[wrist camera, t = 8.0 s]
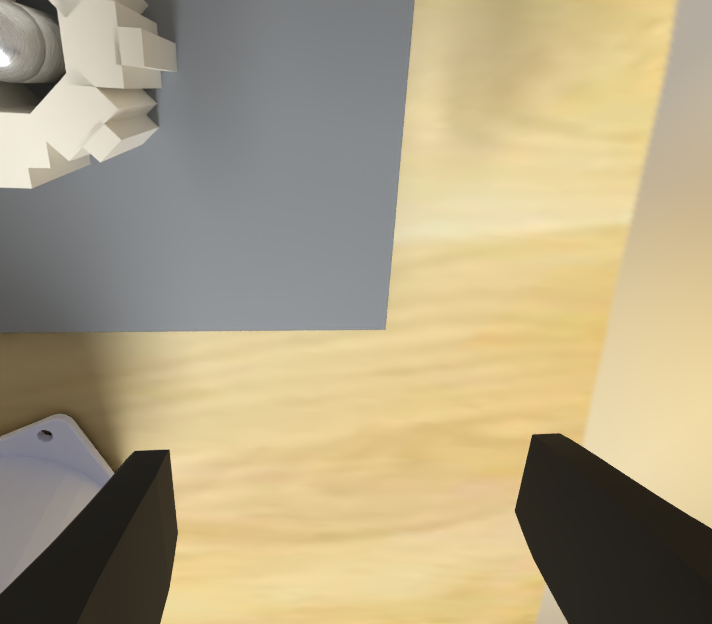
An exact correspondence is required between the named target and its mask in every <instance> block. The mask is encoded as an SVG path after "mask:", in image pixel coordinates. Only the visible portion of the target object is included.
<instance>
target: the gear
mask: <svg viewBox="0 0 712 624" xmlns="http://www.w3.org/2000/svg"><path fill="white" fill-rule="evenodd" d="M9 1H12V2H15V1H16V0H9ZM49 1H50V2H51V3H52V4H53V5H54V6H55V7H56V8H57V13H58V20H59V27H60V34H61V41H62V48H63V55H64V62H65V69H66V74H65V75H64V76H63V78H62V79H61V80H60V81H59V82H58V83H57V84H56V85H55V87H54V88H53V89H52V90H51V91H50V92H49V93H48V94H47V96H46V97H45V98H44V99H43V100H41V99H40V98H39V97H38V96H37V95H36V94H35V93H34V92H32V91H31V90H30V89H29V88H28V87H27V86H26V85H25V84H24V83H10V82H4V81H0V188H29V189H32V188H35V187H37V186H39V185H42V184H44V183H47V182H49V181H51V180H54V179H56V178H59V177H61V176H63V175H66V174H68V173H71V172H73V171H75V170H78V169H80V168H83V167H85V166H88V165H90V164H91V161H90V154H91V155H92V156H93V157H95V158H96V159H97V160H98V161H99V162H103V161H105V160H107V159H110V158H112V157H114V156H117V155H119V154H121V153H124V152H126V151H128V150H131V149H133V148H135V147H138V146H140V145H142V144H144V142H145V141H146V140H147V139H148V138H149V137H150V136H151V135H152V134H153V133H154V132H155V131H156V130H157V129H158V128H159V127H158V126H157V125H156V124H155V123H154V122H153V121H152V120H151V119H150V118H149V117H148V116H147V114H148V113H149V111H150V110H151V109H152V108H153V107H154V106H155V105H156V104H157V103H156V102H155V101H154V100H153V99H152V98H151V97H150V96H149V95H148V94H147V93H146V92H145V91H144V90H143V89H142V88H162V82H161V71H174V72H178V71H177V57H176V43H173V42H171V41H169V40H166V39H164V38H162V37H160V36H158V31H157V23H155V22H153V21H151V20H150V19H148V18H146V17H144V16H142V15H141V14H142V13H143V12H144V10H145V9H146V8H147V7H148V6H149V5H148V4H147V3H146V2H145V1H144V0H49Z"/></svg>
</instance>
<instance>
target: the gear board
mask: <svg viewBox="0 0 712 624" xmlns="http://www.w3.org/2000/svg"><path fill="white" fill-rule="evenodd" d="M144 1H145V2H146V3H147V4H148V5H149V6H148V7H147V8H146V9H145V10H144V12H143V13H142V14H141V15H142V16H144V17H146V18H148V19H150V20H151V21H153V22H155V23H157V31H158V36H160V37H162V38H164V39H166V40H169V41H171V42H173V43H176V57H177V71H178V72H174V71H161V82H162V88H142V89H143V90H144V91H145V92H146V93H147V94H148V95H149V96H150V97H151V98H152V99H153V100H154V101H155V102H156V103H157V104H156V105H155V106H154V107H153V108H152V109H151V110H150V111H149V113H148V114H147V116H148V117H149V118H150V119H151V120H152V121H153V122H154V123H155V124H156V125H157V126H158V127H159V128H158V129H157V130H156V131H155V132H154V133H153V134H152V135H151V136H150V137H149V138H148V139H147V140H146V141H145V142H144V144H142V145H140V146H138V147H135V148H133V149H131V150H128V151H126V152H124V153H121V154H119V155H117V156H114V157H112V158H110V159H107V160H105V161H103V162H99V161H98V160H97V159H96V158H95V157H93V156H92V155H91V154H90V161H91V164H90V165H88V166H85V167H83V168H80V169H78V170H75V171H73V172H71V173H68V174H66V175H63V176H61V177H59V178H56V179H54V180H51V181H49V182H47V183H44V184H42V185H39V186H37V187H35V188H32V189H29V188H0V333H43V332H167V331H291V330H385V329H386V318H387V306H388V295H389V283H390V272H391V261H392V249H393V238H394V227H395V215H396V204H397V193H398V181H399V170H400V159H401V147H402V136H403V125H404V113H405V102H406V91H407V79H408V68H409V56H410V45H411V34H412V22H413V11H414V0H144ZM15 2H16V3H19V4H22V5H25V6H28V7H31V8H34V9H37V10H40V11H43V12H46V13H49V14H52V15H55V16H58V13H57V8H56V7H55V6H54V5H53V4H52V3H51V2H50V1H49V0H16V1H15ZM24 84H25V85H26V86H27V87H28V88H29V89H30V90H31V91H32V92H34V93H35V94H36V95H37V96H38V97H39V98H40V99H41V100H43V99H44V98H45V97H46V96H47V94H48V93H49V92H50V91H51V90H52V89H53V88H54V87H55V85H56V84H50V83H24Z"/></svg>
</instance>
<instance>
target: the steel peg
mask: <svg viewBox="0 0 712 624" xmlns="http://www.w3.org/2000/svg"><path fill="white" fill-rule="evenodd" d="M65 74H66V69H65V62H64V55H63V48H62V41H61V34H60V27H59V20H58V16H55V15H52V14H49V13H46V12H43V11H40V10H37V9H34V8H31V7H28V6H25V5H22V4H19V3H16V2H12V1H9V0H0V81H4V82H10V83H50V84H57V83H58V82H59V81H60V80H61V79H62V78H63V76H64V75H65Z"/></svg>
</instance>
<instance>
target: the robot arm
mask: <svg viewBox="0 0 712 624" xmlns="http://www.w3.org/2000/svg"><path fill="white" fill-rule="evenodd" d="M42 430H47V431H50V432H51V433H52V435H46V434H45V433H43V432H42ZM515 513H516V516H517V518H518V521H519V524H520V526H521V529H522V532H523V534H524V537H525V540H526V542H527V544H528V547H529V549H530V552H531V554H532V557H533V559H534V561H535V563H536V565H537V567H538V568H539V570H540V572H541V574H542V576H543V578H544V580H545V582H546V583H547V585H548V587H549V589H550V591H551V593H552V594H553V596H554V598H555V600H556V602H557V604H558V606H559V607H560V609H561V611H562V613H563V615H564V616H565V618H566V620H567V622H568V624H712V529H711V528H710V527H708V526H706V525H705V524H703V523H701V522H700V521H698V520H696V519H695V518H693V517H691V516H689V515H688V514H686V513H685V512H683V511H681V510H680V509H678V508H676V507H675V506H673V505H672V504H670V503H668V502H667V501H665V500H664V499H662V498H660V497H659V496H657V495H656V494H654V493H653V492H651V491H650V490H648V489H647V488H645V487H643V486H642V485H640V484H639V483H637V482H636V481H634V480H633V479H631V478H630V477H628V476H626V475H625V474H623V473H622V472H620V471H619V470H617V469H616V468H614V467H613V466H611V465H610V464H608V463H607V462H605V461H604V460H602V459H600V458H599V457H598V456H596V455H594V454H593V453H591V452H590V451H588V450H587V449H585V448H584V447H582V446H580V445H579V444H577V443H576V442H574V441H572V440H571V439H569V438H567V437H565V436H564V435H562V434H560V433H558V434H534V435H532V438H531V443H530V447H529V451H528V456H527V460H526V464H525V469H524V473H523V477H522V482H521V486H520V490H519V495H518V499H517V503H516V508H515ZM177 535H178V530H177V520H176V510H175V501H174V491H173V481H172V471H171V461H170V451H169V450H148V451H134V452H133V453H132V454H131V455H130V456H129V457H128V458H127V459H126V461H125V462H124V463H123V464H122V465H121V466H120V468H119V469H118V470H117V471H116V472H115V473H114V472H113V470H112V469H111V468H110V467H109V465H108V464H107V463H106V461H105V460H104V459H103V457H102V456H101V455H100V454H99V452H98V451H97V450H96V448H95V447H94V446H93V444H92V443H91V442H90V441H89V439H88V438H87V437H86V435H85V434H84V433H83V431H82V430H81V429H80V427H79V426H78V425H77V424H76V422H75V421H74V420H73V419H72V418H71V417H70V416H67V415H65V414H55V415H52V416H49V417H47V418H44V419H42V420H39V421H37V422H34V423H32V424H30V425H27V426H25V427H22V428H20V429H17V430H15V431H12V432H10V433H7V434H5V435H3V436H0V624H160V622H161V618H162V614H163V611H164V607H165V603H166V599H167V595H168V591H169V587H170V581H171V575H172V569H173V562H174V556H175V549H176V542H177Z"/></svg>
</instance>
